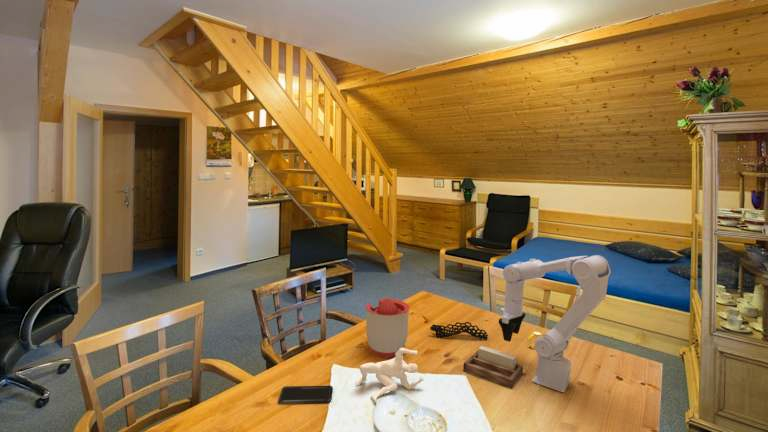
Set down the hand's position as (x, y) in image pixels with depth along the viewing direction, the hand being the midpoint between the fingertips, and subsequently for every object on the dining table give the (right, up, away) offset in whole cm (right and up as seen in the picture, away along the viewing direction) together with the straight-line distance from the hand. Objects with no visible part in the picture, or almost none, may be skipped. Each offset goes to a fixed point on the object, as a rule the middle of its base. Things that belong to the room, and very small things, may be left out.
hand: (511, 336), depth 135 cm
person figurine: (-42, -11, -15) cm, 46 cm away
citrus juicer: (-43, -8, +9) cm, 45 cm away
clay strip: (-6, -9, -4) cm, 11 cm away
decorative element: (-14, -7, +21) cm, 26 cm away
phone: (-66, -12, -20) cm, 70 cm away
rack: (-8, -10, -5) cm, 14 cm away
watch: (+13, -8, +12) cm, 20 cm away
